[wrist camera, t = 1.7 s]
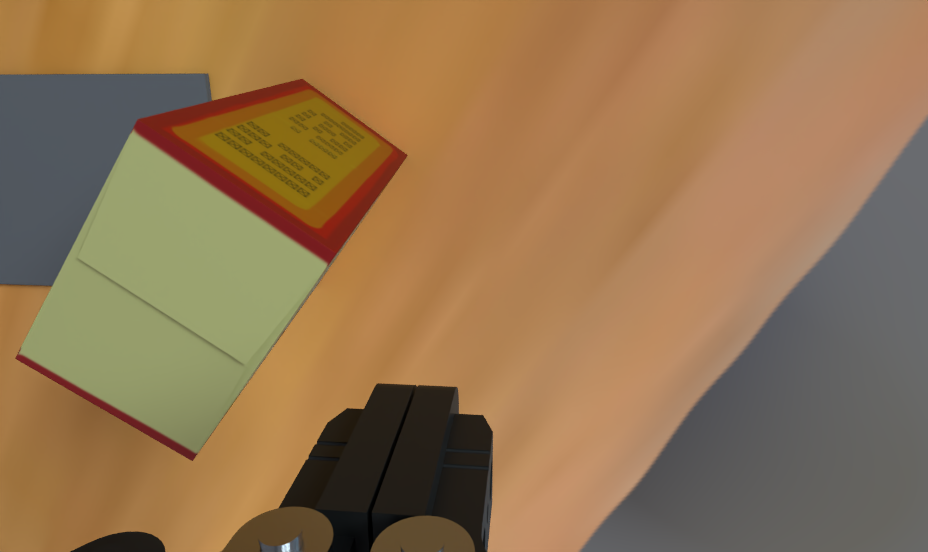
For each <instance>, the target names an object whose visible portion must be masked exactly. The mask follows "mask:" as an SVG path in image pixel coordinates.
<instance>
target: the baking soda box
mask: <svg viewBox="0 0 928 552" xmlns="http://www.w3.org/2000/svg"><path fill="white" fill-rule="evenodd" d="M407 156H408V155H406V154H405V153H404V152H402V151H401V150H399V149H398V148H397V147H395V146H394V145H393V144H391V143H390V142H388V141H387V140H386V139H384V138H383V137H382V136H380V135H379V134H377V133H376V132H375V131H373V130H372V129H371V128H369V127H368V126H366V125H365V124H364V123H362V122H361V121H360V120H358V119H357V118H355V117H354V116H353V115H351V114H350V113H349V112H347V111H346V110H344V109H343V108H342V107H340V106H339V105H338V104H336V103H335V102H333V101H332V100H331V99H329V98H328V97H327V96H325V95H324V94H322V93H321V92H320V91H318V90H317V89H316V88H314V87H313V86H311V85H310V84H309V83H307V82H306V81H305V80H303V79H299V80H295V81H291V82H287V83H283V84H279V85H275V86H271V87H267V88H263V89H259V90H255V91H251V92H246V93H242V94H238V95H234V96H230V97H226V98H222V99H218V100H214V101H210V102H206V103H202V104H198V105H193V106H189V107H185V108H181V109H177V110H173V111H169V112H165V113H161V114H157V115H153V116H149V117H145V118H140V119H137V121H136V123H135V125H134V127H133V129H132V131H131V133H130V135H129V137H128V139H127V141H126V143H125V145H124V147H123V149H122V151H121V153H120V155H119V157H118V159H117V160H116V162H115V164H114V166H113V168H112V170H111V172H110V174H109V176H108V178H107V180H106V182H105V184H104V186H103V188H102V190H101V192H100V194H99V196H98V198H97V200H96V202H95V204H94V206H93V207H92V209H91V211H90V213H89V215H88V217H87V219H86V221H85V223H84V225H83V227H82V229H81V231H80V233H79V235H78V237H77V239H76V241H75V243H74V245H73V247H72V249H71V251H70V252H69V254H68V256H67V258H66V260H65V262H64V264H63V266H62V268H61V270H60V272H59V274H58V276H57V278H56V280H55V282H54V284H53V286H52V288H51V290H50V292H49V294H48V296H47V298H46V299H45V301H44V303H43V305H42V307H41V309H40V311H39V313H38V315H37V317H36V319H35V321H34V323H33V325H32V327H31V329H30V331H29V333H28V335H27V337H26V339H25V341H24V343H23V345H22V346H21V348H20V350H19V352H18V354H17V356H16V358H15V359H17V360H19V361H20V362H22V363H24V364H26V365H27V366H29V367H31V368H33V369H34V370H36V371H38V372H39V373H41V374H43V375H45V376H46V377H48V378H50V379H52V380H53V381H55V382H57V383H58V384H60V385H62V386H64V387H65V388H67V389H69V390H71V391H72V392H74V393H76V394H77V395H79V396H81V397H83V398H84V399H86V400H88V401H90V402H91V403H93V404H95V405H97V406H98V407H100V408H102V409H103V410H105V411H107V412H109V413H110V414H112V415H114V416H116V417H117V418H119V419H121V420H122V421H124V422H126V423H128V424H129V425H131V426H133V427H135V428H136V429H138V430H140V431H141V432H143V433H145V434H147V435H148V436H150V437H152V438H154V439H155V440H157V441H159V442H160V443H162V444H164V445H166V446H167V447H169V448H171V449H173V450H174V451H176V452H178V453H179V454H181V455H183V456H185V457H186V458H188V459H190V460H192V461H193V459H194V458H195V457H196V455H197V454H198V452H199V451H200V450H201V448H202V447H203V445H204V444H205V443H206V441H207V440H208V438H209V437H210V435H211V434H212V433H213V431H214V430H215V428H216V427H217V426H218V424H219V423H220V421H221V420H222V419H223V417H224V416H225V414H226V413H227V412H228V410H229V409H230V407H231V406H232V405H233V403H234V402H235V400H236V399H237V398H238V396H239V395H240V393H241V392H242V390H243V389H244V388H245V386H246V385H247V383H248V382H249V381H250V379H251V378H252V376H253V375H254V374H255V372H256V371H257V369H258V368H259V367H260V365H261V364H262V362H263V361H264V360H265V358H266V357H267V355H268V354H269V352H270V351H271V350H272V348H273V347H274V345H275V344H276V343H277V341H278V340H279V338H280V337H281V336H282V334H283V333H284V331H285V330H286V329H287V327H288V326H289V324H290V323H291V322H292V320H293V319H294V317H295V316H296V314H297V313H298V312H299V310H300V309H301V307H302V306H303V305H304V303H305V302H306V300H307V299H308V298H309V296H310V295H311V293H312V292H313V291H314V289H315V288H316V286H317V285H318V283H319V282H320V281H321V279H322V278H323V276H324V275H325V273H326V272H327V271H328V269H329V268H330V266H331V265H332V263H333V262H334V260H335V259H336V258H337V256H338V255H339V253H340V252H341V250H342V249H343V248H344V246H345V245H346V243H347V242H348V240H349V239H350V238H351V236H352V235H353V233H354V232H355V230H356V229H357V227H358V226H359V225H360V223H361V222H362V220H363V219H364V217H365V216H366V215H367V213H368V212H369V210H370V209H371V207H372V206H373V204H374V203H375V202H376V200H377V199H378V197H379V196H380V194H381V193H382V192H383V190H384V189H385V187H386V186H387V184H388V183H389V181H390V180H391V179H392V177H393V176H394V174H395V173H396V171H397V170H398V169H399V167H400V166H401V164H402V163H403V161H404V160H405V159H406V157H407Z"/></svg>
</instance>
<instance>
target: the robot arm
mask: <svg viewBox="0 0 928 552" xmlns="http://www.w3.org/2000/svg"><path fill="white" fill-rule="evenodd" d="M492 459H493V431H492V430H491V428H490V426H489V425H488V423H487V421H486V419H485V418H484V416H483V415H469V414H459V399H458V388H457V387H445V386H424V385H418V387H417V386H416V385H400V384H379V383H378V384H377V385H376V386H375V388H374V390H373V392H372V394H371V396H370V398H369V400H368V402H367V404H366V406H365V408H364V409H350V408H347V409H346V410H344V411H343V412H342V413H340V414H339V415H338V416H336V417H335V418H334V419H332V420H331V421H330V422H328V423H327V425H326V427H325V428H324V430H323V432H322V433H321V435H320V437H319V439H318V440H317V444H315V446H314V447H313V449H312V451H311V453H310V454H309V459H308V460H306V461H305V463H304V465H303V467H302V468H301V470H300V472H299V474H298V475H297V477H296V479H295V481H294V482H293V484H292V486H291V487H290V489H289V491H288V493H287V494H286V496H285V498H284V500H283V501H282V503H281V505H280V507H279V508H278V509H274V510H271V511H268V512H265V513H263V514H260V515H258V516H256V517H254V518H253V519H251V520H250V521H248V522H247V523H245V524H244V525H243V526H242V527H241V528H240V529H239V530H238V531H237V532H236V533H235V534H234V536H233V537H232V538H231V540H230V541H229V543H228V544H227V545H226V547H225V548H224V549H223V551H221V552H487V549H488V539H489V528H490V518H491V508H492ZM71 552H165V547H164V545H163V543H162V542H161V541H160V540H159V539H158V538H157V537H155V536H153V535H151V534H148V533H144V532H123V533H117V534H112V535H108V536H105V537H102V538H99V539H97V540H94V541H92V542H90V543H87V544H85V545H83V546H81V547H79V548H77V549H75V550H73V551H71Z"/></svg>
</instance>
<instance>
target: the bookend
mask: <svg viewBox="0 0 928 552" xmlns="http://www.w3.org/2000/svg"><path fill="white" fill-rule="evenodd" d="M210 101H212V99H211V91H210V84H209V76H208V74H54V75H0V284H19V285H49V286H53V284H54V282H55V280H56V278H57V276H58V274H59V272H60V270H61V268H62V266H63V264H64V262H65V260H66V258H67V256H68V254H69V252H70V251H71V249H72V247H73V245H74V243H75V241H76V239H77V237H78V235H79V233H80V231H81V229H82V227H83V225H84V223H85V221H86V219H87V217H88V215H89V213H90V211H91V209H92V207H93V206H94V204H95V202H96V200H97V198H98V196H99V194H100V192H101V190H102V188H103V186H104V184H105V182H106V180H107V178H108V176H109V174H110V172H111V170H112V168H113V166H114V164H115V162H116V160H117V159H118V157H119V155H120V153H121V151H122V149H123V147H124V145H125V143H126V141H127V139H128V137H129V135H130V133H131V131H132V129H133V127H134V125H135V123H136V121H137V119H140V118H145V117H149V116H153V115H157V114H161V113H165V112H169V111H173V110H177V109H181V108H185V107H189V106H193V105H198V104H202V103H206V102H210Z"/></svg>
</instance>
